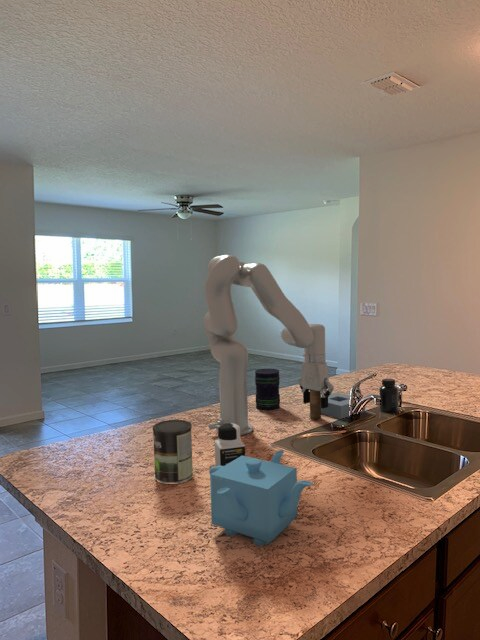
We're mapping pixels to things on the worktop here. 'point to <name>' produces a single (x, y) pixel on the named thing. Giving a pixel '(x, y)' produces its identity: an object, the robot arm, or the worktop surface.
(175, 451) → the coffee can
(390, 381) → the supplement bottle
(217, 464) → the medicine bottle
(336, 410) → the socket
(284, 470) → the teakettle
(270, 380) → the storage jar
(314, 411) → the peg
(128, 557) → the worktop surface
